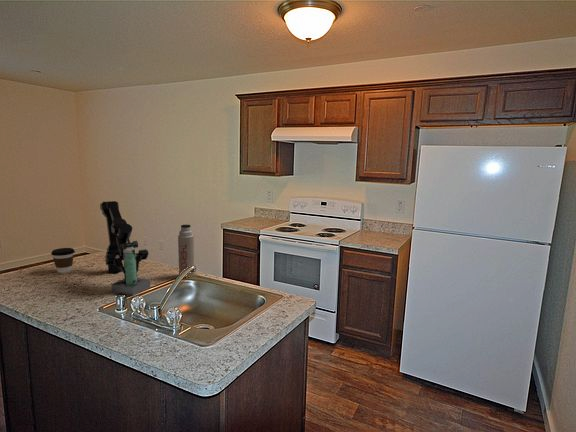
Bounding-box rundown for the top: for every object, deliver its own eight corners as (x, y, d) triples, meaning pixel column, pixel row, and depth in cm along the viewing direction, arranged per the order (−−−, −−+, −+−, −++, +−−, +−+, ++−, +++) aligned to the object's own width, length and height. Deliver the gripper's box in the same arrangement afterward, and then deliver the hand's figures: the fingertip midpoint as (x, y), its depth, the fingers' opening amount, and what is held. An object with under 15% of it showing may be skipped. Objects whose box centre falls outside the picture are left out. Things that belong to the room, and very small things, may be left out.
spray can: (138, 282, 178) (137, 242, 174) (134, 286, 172) (133, 245, 169) (127, 282, 177) (125, 242, 174) (123, 286, 172) (120, 245, 168)
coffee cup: (49, 271, 198) (47, 250, 196) (70, 267, 206) (69, 246, 204) (57, 276, 191) (55, 253, 189) (79, 271, 200) (78, 249, 198)
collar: (130, 284, 182) (129, 276, 182) (150, 287, 179) (149, 279, 178) (111, 292, 171) (111, 284, 170) (132, 296, 167) (132, 287, 167)
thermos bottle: (188, 279, 191) (187, 227, 187) (175, 277, 194) (174, 225, 190) (197, 274, 199) (196, 224, 194) (185, 272, 202) (184, 223, 197)
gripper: (105, 237, 168) (111, 267, 161) (146, 233, 179) (154, 260, 173) (102, 250, 176) (108, 278, 169) (142, 245, 187) (150, 271, 180)
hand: (131, 272), depth 172 cm, fingers closed on spray can, 5 cm apart
